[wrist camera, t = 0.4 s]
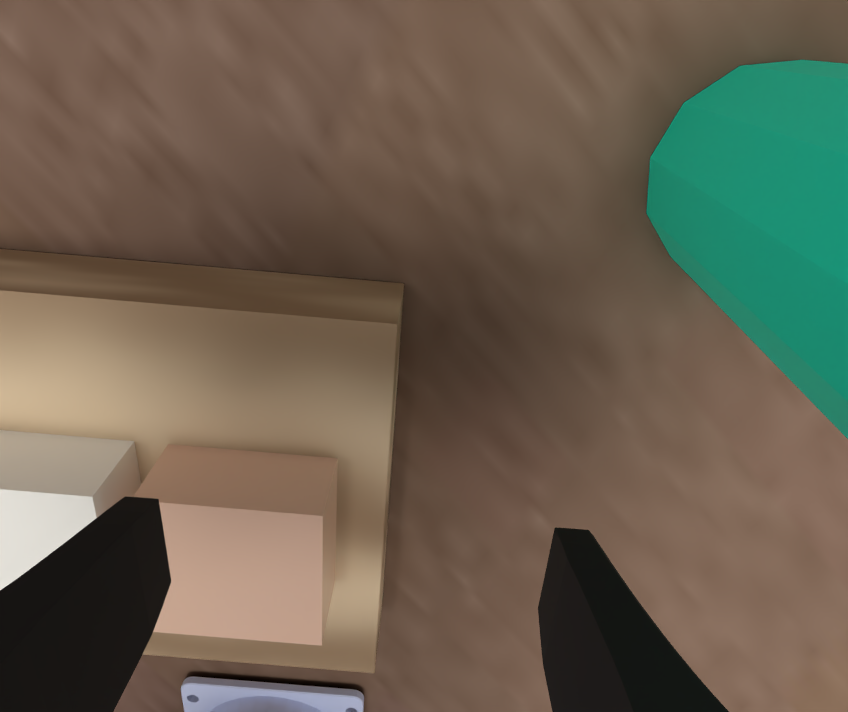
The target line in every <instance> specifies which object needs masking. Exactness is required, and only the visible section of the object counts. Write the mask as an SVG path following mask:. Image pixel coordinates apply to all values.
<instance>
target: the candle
mask: <svg viewBox="0 0 848 712" xmlns="http://www.w3.org/2000/svg"><path fill="white" fill-rule="evenodd" d="M646 214H647V215H648V217H649V219H650V221H651V223H652V224H653V226H654V228H655V230H656V232H657V233H658V235H659V237H660V239H661V241H662V243H663V244H664V246H665V248H666V250H667V252H668V253H669V255H670V257H671V258H672V259H673V260H674V261H675V262H676V263H677V264H678V265H679V266H680V267H681V268H682V269H683V270H684V271H685V272H686V273H687V274H688V275H689V276H690V277H691V278H692V279H693V280H694V281H695V282H696V283H697V284H698V285H699V286H700V288H701V289H702V290H703V291H704V292H705V293H706V294H707V295H708V296H709V297H710V298H711V299H712V300H713V301H714V302H715V303H716V304H717V305H718V306H719V307H720V308H721V309H722V310H723V311H724V312H725V313H726V314H727V315H728V316H729V317H730V318H731V319H732V320H733V321H734V322H735V324H736V325H737V326H738V327H739V328H740V329H741V330H742V331H743V332H744V333H745V334H746V335H747V336H748V337H749V338H750V339H751V340H752V341H753V342H754V343H755V344H756V345H757V346H758V347H759V348H760V349H761V350H762V351H763V352H764V353H765V354H766V355H767V356H768V357H769V358H770V360H771V361H772V362H773V363H774V364H775V365H776V366H777V367H778V368H779V369H780V370H781V371H782V372H783V373H784V374H785V375H786V376H787V377H788V378H789V379H790V380H791V381H792V382H793V383H794V384H795V385H796V386H797V387H798V388H799V389H800V390H801V391H802V392H803V393H804V394H805V396H806V397H807V398H808V399H809V400H810V401H811V402H812V403H813V404H814V405H815V406H816V407H817V408H818V409H819V410H820V411H821V412H822V413H823V414H824V415H825V416H826V417H827V418H828V419H829V420H830V421H831V422H832V423H833V424H834V425H835V426H836V427H837V428H838V429H839V430H840V431H841V433H842V434H843V435H844V436H845V437H846V438H847V439H848V64H845V63H834V62H823V61H812V60H794V61H783V62H773V63H763V64H752V65H742V66H739V67H737V68H736V69H734V70H733V71H731V72H730V73H728V74H727V75H725V76H724V77H722V78H721V79H719V80H717V81H716V82H714V83H713V84H711V85H710V86H708V87H707V88H705V89H704V90H702V91H701V92H699V93H698V94H696V95H695V96H693V97H692V98H690V99H689V100H687V101H686V102H684V103H683V105H682V106H681V108H680V110H679V111H678V113H677V115H676V116H675V118H674V119H673V121H672V123H671V124H670V126H669V128H668V129H667V131H666V133H665V134H664V136H663V137H662V139H661V141H660V142H659V144H658V146H657V147H656V149H655V151H654V152H653V154H652V155H651V157H650V167H649V182H648V197H647V211H646Z"/></svg>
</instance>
